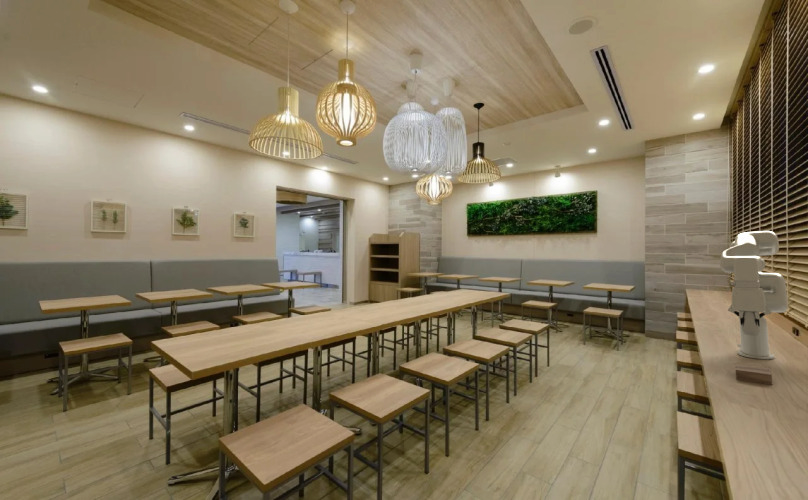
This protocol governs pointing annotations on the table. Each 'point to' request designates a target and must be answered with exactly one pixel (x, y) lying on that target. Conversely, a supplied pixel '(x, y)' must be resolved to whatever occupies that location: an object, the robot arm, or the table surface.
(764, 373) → the block
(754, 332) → the salt shaker
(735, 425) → the table surface
